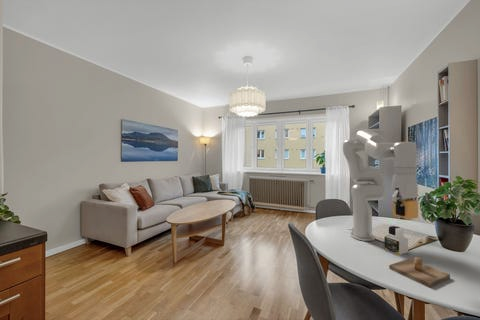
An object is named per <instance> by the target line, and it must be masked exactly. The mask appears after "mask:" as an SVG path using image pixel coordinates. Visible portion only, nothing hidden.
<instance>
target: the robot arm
mask: <svg viewBox="0 0 480 320" xmlns="http://www.w3.org/2000/svg"><path fill="white" fill-rule="evenodd" d="M355 135H356V136H355V138H354V137H353V138H348V139H346V140H344V142H343V144H342V152H343V155H344V158H345V159H346V162H347V165H348V170H349V176H350V179H351V180H352V182H354V183H356V184H354V185H352V186H351V190H350V192H351V193H350V194H351V200H352V215H353V217H352V221H353V224H352V225H349V226H348V229H347V230H349V231H351V232H350V237H352V238H353V239H355V240H358V241H363V242H373V241H375V240H376V236H375V235H373V211H372V210H373V209H372V206H371V205H370V203H369V202H368V201H382V200H385V198H386V193H387V192H386V188H385V185H384V181H383V176H382V173H381V171H380V170H379V168H378V167H375V166H365V163H364V159H363V158H362V157H361V156H360V154H358V153H366V154H367V155H368V156H369V157H371V158H372V159H376V160H393V175H392V179H391V189H390V190H391V192H390V194H391V199H392V202H393V201H394V203H395V205H396V215H400V216H405V206H403V205H404V201H405V199H411V200H417V199H418V197H419V193H418V191H419V190H418V189H419V188H418V186H419V185H418V179H417V176H418V172H417V171H418V169H417V168H418V165H417V161H418V160H417V157H418V155H417V154H418V153H417V151H418V150H417V144H416V142H414V141H399V142H386V139H387V132H386V131H385V130H384V129H382V128H364V129H360V130H359V131H357V133H356V134H355ZM400 200H401V202H400ZM417 201H418V200H417Z"/></svg>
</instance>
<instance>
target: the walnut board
mask: <svg viewBox="0 0 480 320" xmlns="http://www.w3.org/2000/svg"><path fill="white" fill-rule="evenodd" d="M388 267H389V268H388V269H390V270H392V271H394V272H396V273H398V274H400V275H402V276H404V277H406V278H408V279H411V280H413V281H415V282H416V283H417V282H418V284H421V285H424V286H426V287H427V288H431V287H434V286H436V285H438V284H440V283H442V282H444V281H448V280H449V279H451V274H450V273H448V272H444V271H443V270H439V269H437V268H435V267H432V266H429V265H427V264H424V263H423V259H422V258H421V257H418V256H415V257H414V259H411V258H410V257H409V258H406V259H404V260H401V261H397V262H394V263H391V264H389V266H388Z"/></svg>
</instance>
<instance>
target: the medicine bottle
mask: <svg viewBox="0 0 480 320" xmlns="http://www.w3.org/2000/svg"><path fill="white" fill-rule="evenodd" d="M404 231H405V230H404V228H402V227H400V226H395V225H392V226H389V227H388V234H386V235H384V236H383V237H384V244H383V245H384V250H386V251H388V252H391V253H393V254H395V255H397V256H400V255H403V254H407V253H409V238H408V237H406V236H405V237H404V233H405V232H404Z"/></svg>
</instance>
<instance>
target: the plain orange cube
mask: <svg viewBox="0 0 480 320" xmlns="http://www.w3.org/2000/svg"><path fill="white" fill-rule="evenodd" d="M400 202H401V200H400ZM403 206H405V216H400V215H396V205H395V203H394V201H393V200H392V213H393V214H392V216H393V217H396V218H397V217H398V218H401V219H406V220H414V219H418V218H419V200H411V199H405V201H404V205H403Z"/></svg>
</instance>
